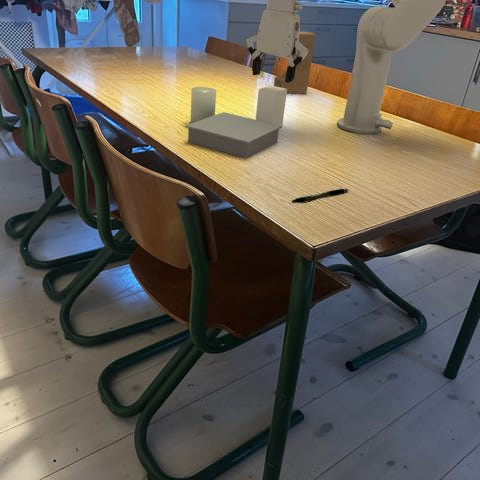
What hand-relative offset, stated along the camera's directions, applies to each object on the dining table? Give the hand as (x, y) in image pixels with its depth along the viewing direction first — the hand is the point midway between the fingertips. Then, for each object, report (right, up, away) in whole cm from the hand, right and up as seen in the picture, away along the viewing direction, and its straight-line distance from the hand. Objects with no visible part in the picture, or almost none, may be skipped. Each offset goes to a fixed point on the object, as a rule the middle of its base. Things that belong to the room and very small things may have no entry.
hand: (272, 78), depth 126 cm
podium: (-10, -18, -8) cm, 23 cm away
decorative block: (+9, +10, +46) cm, 48 cm away
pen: (+7, -35, -33) cm, 48 cm away
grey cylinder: (-19, -11, +3) cm, 22 cm away
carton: (-1, -11, +6) cm, 13 cm away
